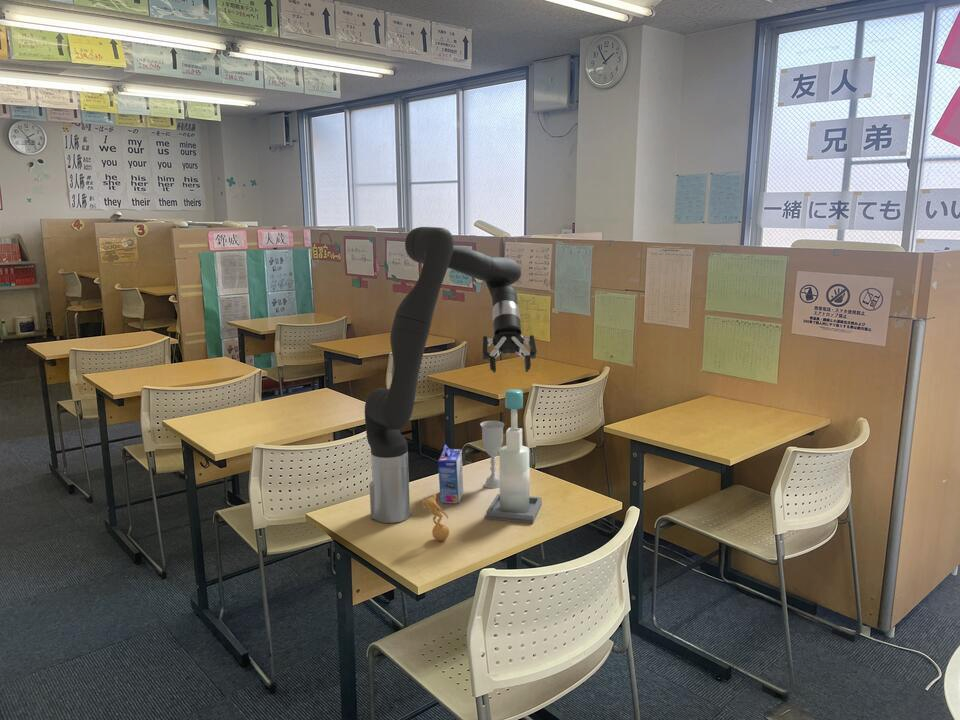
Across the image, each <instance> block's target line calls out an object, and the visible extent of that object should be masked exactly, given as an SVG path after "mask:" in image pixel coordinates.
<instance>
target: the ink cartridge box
mask: <svg viewBox="0 0 960 720" xmlns="http://www.w3.org/2000/svg"><path fill="white" fill-rule="evenodd" d="M442 449H443V450H442V452H441V454H440V456H439V458H438V461H437V465H438V479H439V481H438V483H439V485H438V486H439V496H440V499H439V500H440V503H441V504H460V502H461V500H462V499H461V498H462V495H463V493H464V474H463V455H462V453H463V452H462V451H463V450H462V449H461V448H449V446H448V445H447V444H444V446H443V448H442Z"/></svg>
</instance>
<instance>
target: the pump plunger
mask: <svg viewBox="0 0 960 720" xmlns="http://www.w3.org/2000/svg"><path fill="white" fill-rule="evenodd" d="M523 397H524V392H523V390H522V389H507V390H505V393H504V403H505V406H504V407H505V408H506V409H509V410H510V428H511V429H512V430H516V429H517V428H518V410H520V409H523V408H524V398H523Z"/></svg>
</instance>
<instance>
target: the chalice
mask: <svg viewBox="0 0 960 720" xmlns="http://www.w3.org/2000/svg"><path fill="white" fill-rule="evenodd" d="M479 424H480V427H481V432H482V433H481V434H482V435H481V436H482V438H481V439H482V440H481V441H482V443H483V447H484V449H485V451H486V454H487V455H488V456H490V461H489V464H490V465H491V466H490V468H489V469H490V471H491V474H490V475H489V476H488V477H487V478H486V480H485V483H484V487H485V486H486V488H489V489H499V488H500V476H498V475H496V473H495V471H496V470H497V468H496V467H495V466H496V461H495V458H496V456H498V454H499V449H500V448H501V447H503V446H502V445H503V442H504V427H505V424H506V423H505V422H502V421H499V420H486V421H485V420H484V421H482V422H480V423H479Z"/></svg>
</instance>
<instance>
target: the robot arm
mask: <svg viewBox="0 0 960 720" xmlns="http://www.w3.org/2000/svg"><path fill="white" fill-rule="evenodd" d="M404 242H405V243H404V248H405V252H406V254H407V255H408V257H409V259H411V260H412V261H413V262H416V263H419V264H422V267H421V271H420V274H419V277H418V278H417V281H416V282H415V284H414V286H413V287H412V288H411V290H410V291H408V293H407V295H405V297H404V298H403V299H402V300H401V302H400V303H399V305H398V306H397V309H396V312H395V314H394V318H393V322H392V326H391V329H390V330H391V331H390V334H389V335H390V337H389V338H390V347H391V354H392V361H393V372H392V373H393V374H392V379H391V382H390V387H389V388H385V387H378V388H375V389H373V390H371V392H370V393H369V394H368V395H367V397H366V401H365V404H364V421H365V433H366V440H367V443H368V445H369V447H370V456H371V458H370V459H371V460H370V461H371V479H372V481H370V482H369V487H368V488H369V505H370V519H371V520H375V521H377V522H379V523H384V524H395V523H401V522H404V521H406V520H407V519H408V518H410V516H411V504H410V501H411V500H410V475H409V473H410V471H409V451H408V447H409V446H408V441H407V439H406V438H405V437H404V436H403V435H402V433H401V432H400V430H402V429H403V428H404V427H405V426H406V425H407V424H408V423H409V421H410V419H411V417H412V414H413V411H414V405H415V400H416V393H417V385H418V381H419V380H418V379H419V374H420V370H421V367H422V366H421V365H422V361H423V356H424V352H425V348H426V344H427V341H428V337H429V334H430V330H431V325H432V321H433V317H434V316H433V315H434V313H435V310H436V309H435V308H436V305H437V302H438V297H439V294H440V291H441V288H442V284H443V281H444V278H445V277H446V274H447V271H448V269H451V270H453V271H456V272H458V273H461V274H464V275H467V276H469V277H472V278H474V279H477V280H479V281H483V282H485V284H486V286H487V290H488V291H489V294H490V297H491V300H492V301H491V303H492V328H493V337H491V338H489V337H488V336H486V335H484V336H483V337H482V355H481V357H482V358H481V359H482V360H488V362H489V370H490V371H492V373H496V372H497V366H496V363H497V362H496V358H498V356H500V354H501V353H502V354H504V355H505V354H516V353H517V355H518V356H520V357H521V358H523V359H524V360H523V362H524V371H525V373H528V372H529V371H530V370H531V366H532V364H531V360H532V359H533V360H534V359H536V358H537V357H536V356H537V347H536V341H535V336H534V335H533V334H531V335H529V337H524V336H523V333H522V324H521V314H520V309H519V303H518V301H519V300H518V294H517V292H516V290H515V289H514V288H513V287H512V286H511V285H513V284H515V283H517V282H518V281H519V280H520V278H521V275H522V270H521V267H520V266H519V264H518V263H517V262H516V261H515V260H514V259H512V258H510V257H504V256H502V257H501V256H489V255H487V254H485V253H483V252H480V251H478V250H475V249H472V248H471V249H470V248H467V247H463V246H458V245H455V244H454V238H453V234H452V233H451V231H450V230H449V229H448V228H445V227H436V226H435V227H433V226H419V227H415V228H413V229H411V230H410V231H409V232H408V233H407V235H406V237H405V240H404ZM524 343H525V344H526V345H527V346H528V347H529V351H528V349H527V348H526V347H525V346H524ZM491 344H493V346H494V347H493V349H492V350H491V352H489V351H488V347H490V346H491Z"/></svg>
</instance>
